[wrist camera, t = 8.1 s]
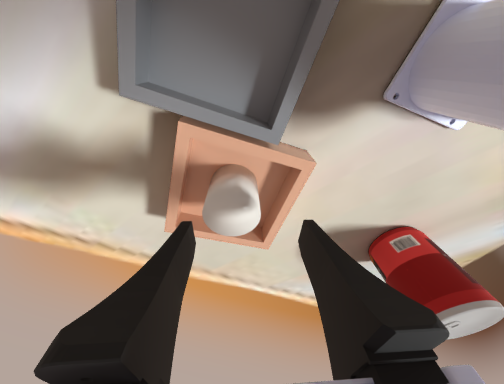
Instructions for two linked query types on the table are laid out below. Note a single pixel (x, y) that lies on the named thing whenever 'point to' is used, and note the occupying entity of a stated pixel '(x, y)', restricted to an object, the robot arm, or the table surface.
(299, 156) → the dump bin
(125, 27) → the bin
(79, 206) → the table surface
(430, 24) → the robot arm
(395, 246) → the canned food
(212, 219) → the white rounded cylinder
